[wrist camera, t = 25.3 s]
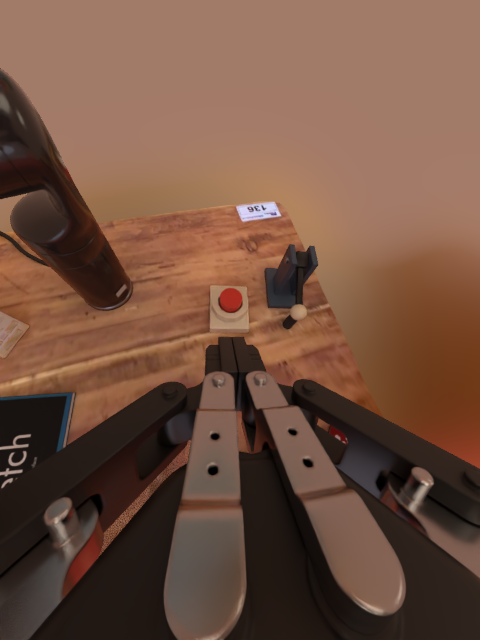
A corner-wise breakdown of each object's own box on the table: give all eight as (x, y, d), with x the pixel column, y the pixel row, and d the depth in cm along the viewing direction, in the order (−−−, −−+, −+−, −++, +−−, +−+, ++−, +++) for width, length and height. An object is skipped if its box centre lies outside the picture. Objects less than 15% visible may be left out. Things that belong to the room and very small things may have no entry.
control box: (247, 332, 48) (251, 325, 44) (209, 332, 47) (210, 324, 43) (245, 291, 52) (248, 281, 48) (210, 290, 51) (210, 279, 47)
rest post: (291, 329, 50) (300, 320, 45) (283, 328, 50) (291, 319, 45) (290, 320, 51) (299, 311, 46) (282, 320, 51) (290, 310, 46)
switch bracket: (301, 308, 52) (328, 278, 41) (267, 307, 51) (286, 276, 40) (295, 272, 56) (319, 234, 45) (264, 270, 55) (280, 232, 43)
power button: (241, 312, 45) (242, 308, 43) (219, 312, 45) (220, 307, 43) (240, 293, 47) (242, 288, 45) (219, 292, 46) (219, 287, 45)
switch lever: (302, 320, 46) (309, 320, 43) (287, 319, 46) (293, 320, 42) (304, 255, 46) (311, 251, 42) (289, 254, 45) (295, 250, 42)
